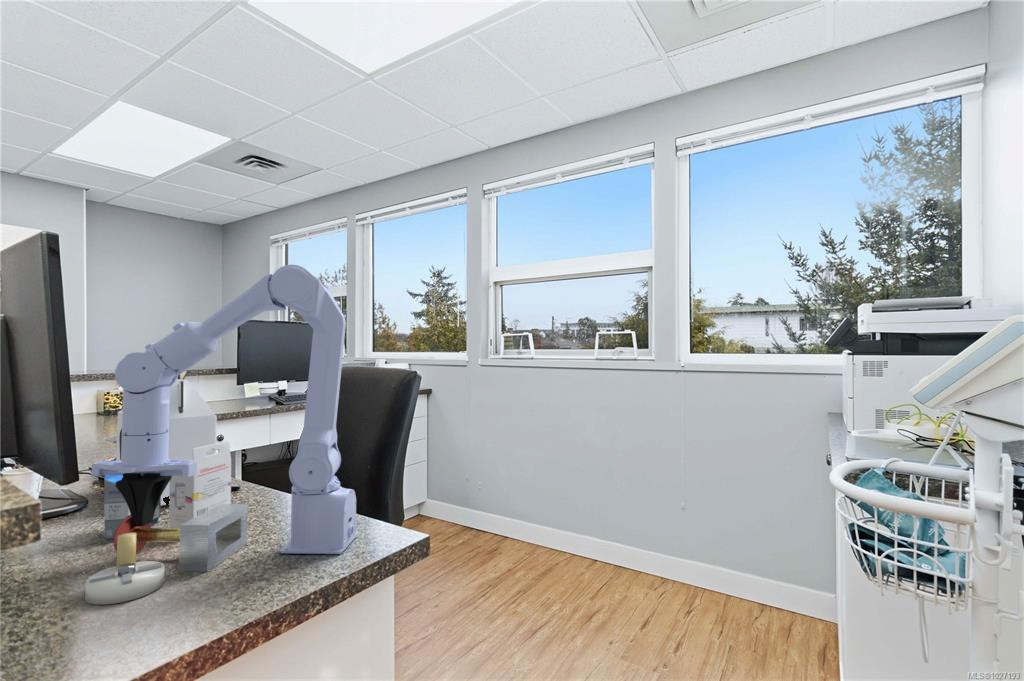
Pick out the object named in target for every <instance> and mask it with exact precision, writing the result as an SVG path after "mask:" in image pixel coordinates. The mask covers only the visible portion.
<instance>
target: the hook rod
mask: <svg viewBox="0 0 1024 681" xmlns="http://www.w3.org/2000/svg"><path fill="white" fill-rule="evenodd" d="M126 533H136V555H137V554H139V552H141V550H143V549H144V548H145V546H146V544H147V543H151V542H152V543H180V528H169V527H152V525H150V523H149V524H147V525H145V526H134V524H133V520H132V516H131V515H129V516H127V517H126V518H125V519H124V520H123V521H122V522H121V523H120V524H119V526H118V528H117V530H116V533H115V536H114V539H113V547H114V551H115V552H116V553H117V539H118V536H119V535H122V534H126Z"/></svg>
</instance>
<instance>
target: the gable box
mask: <svg viewBox="0 0 1024 681" xmlns="http://www.w3.org/2000/svg"><path fill="white" fill-rule="evenodd" d="M188 373H189V370H186V371H185V372H183V373H182V374H180V375H178V378H177V380H176V381H175V383H174V384H173V385H172V386H171V388H170V400H169V401H170V407H169V445H168V459H173V460H181V461H193V454H192V450H193V449H194V448H198V447H202V446H206V445H211V444H215V443H217V423H218V422H217V419H218V418H217V417H218V415H217V414H216V413H214V411H213V410H212V409H211V408H210V406H209V405H208V404H207V402H206V401H205V400H204V399H203V397H202V396H201V395H200V393H199V392H198V391H197V389H196V388H195V387H194V386H193V384H192V383H191V382H190V381H189V380H186V379H185V378H186V376H187V375H188ZM122 411H123V407H121V409H120V410H118V411H117V424H116V425H117V428H116V459H115V460H121V445H122ZM216 453H217V450H213V449H211V450H210V451H209V452H206V456H208V455H213V454H216ZM168 496H170V481H169V483H168V484H167V486H166V488H165V489H164V491H163V493H162V495H161V507H162V506H167V505H166V503H165V502H164V501H163V498H165V497H168Z"/></svg>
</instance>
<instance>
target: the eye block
mask: <svg viewBox="0 0 1024 681" xmlns="http://www.w3.org/2000/svg"><path fill="white" fill-rule="evenodd" d="M248 508H249V507H248V503H231V504H221V505H219V506H217V507H215V508H213V509H211V510H209V511H207V512H205V513H203V514H201V515H199V516H197V517H195V518H193V519H191V520H189V521H187V522H185V523H183V524H181V525H180V542H179V550H178V551H179V552H178V553H179V554H178V555H179V556H178V572H200V573H201V572H203V573H204V572H209V571H210V570H212V569H214V568H215V567H216V566H218V565H219V564H220V563H222V562H224V561H225V560H226V559H228V558H229V557H230V556H232V555H233V554H235V553H236V552H238V551H239V550H241V549H242V548H243V547H245V546H246V545H247V544H248V540H247V539H248Z"/></svg>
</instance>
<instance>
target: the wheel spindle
mask: <svg viewBox="0 0 1024 681" xmlns="http://www.w3.org/2000/svg"><path fill="white" fill-rule="evenodd" d="M135 571H136V564H135V563H128V564H124V565H121V566H119V567H118V576H122V575H125V574H129V573H131V574H133V573H135Z"/></svg>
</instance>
